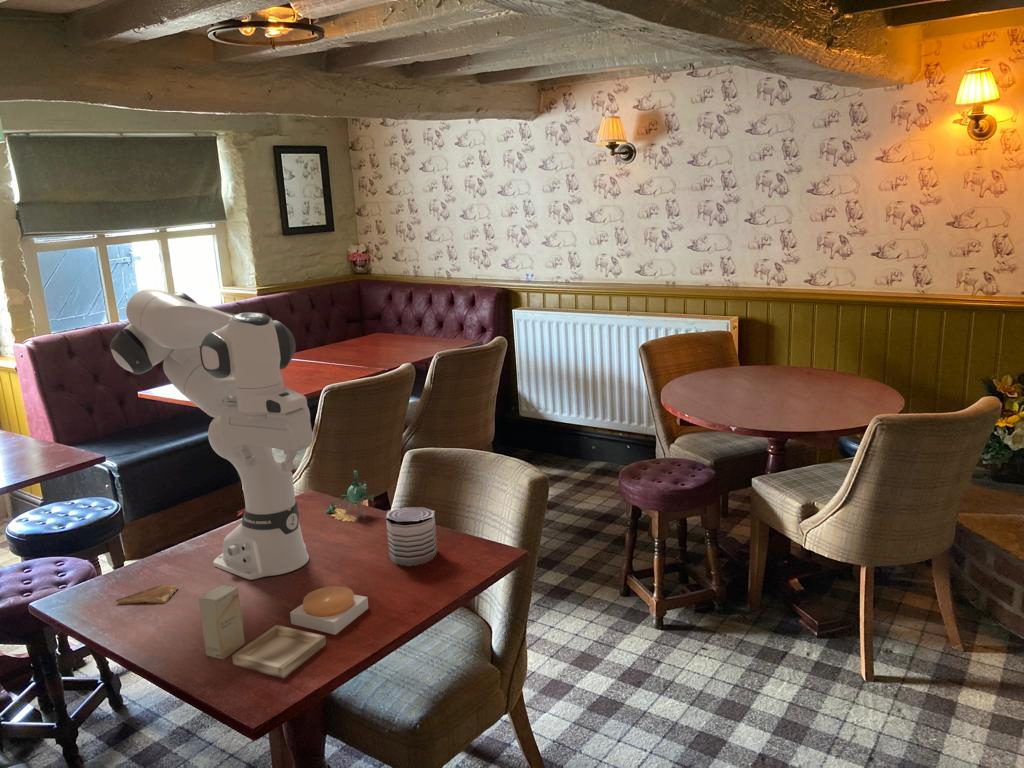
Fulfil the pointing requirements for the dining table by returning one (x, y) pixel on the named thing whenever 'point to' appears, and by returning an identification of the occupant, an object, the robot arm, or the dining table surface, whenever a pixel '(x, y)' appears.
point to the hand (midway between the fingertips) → (269, 467)
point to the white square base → (329, 617)
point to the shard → (150, 595)
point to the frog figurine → (350, 500)
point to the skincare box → (221, 621)
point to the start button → (328, 601)
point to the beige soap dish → (279, 651)
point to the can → (411, 535)
